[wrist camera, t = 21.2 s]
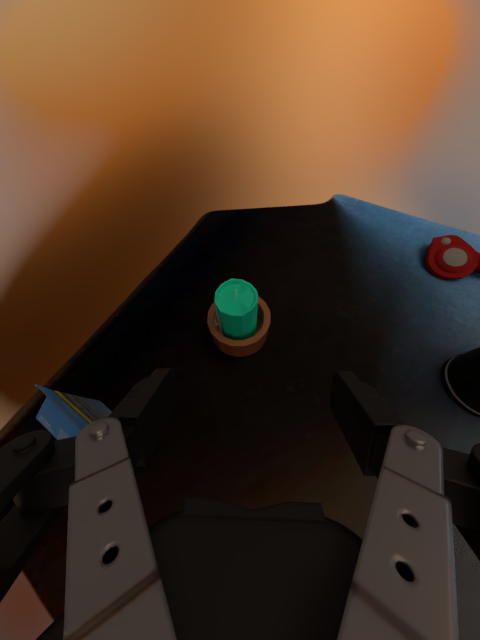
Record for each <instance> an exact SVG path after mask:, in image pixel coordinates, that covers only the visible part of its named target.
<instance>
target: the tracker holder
mask: <svg viewBox="0 0 480 640" xmlns="http://www.w3.org/2000/svg"><path fill="white" fill-rule="evenodd" d="M425 264H426V267H427V269H428V270H429V271H430V272H431V273H432V274H434V275H435V276H437V277H439V278H442V279H450V280H452V279H459V278H462V277H465V276H467V275H469V274H470V273H472V272H473V271H477V272H480V253H478V252H476V251H475V250H474V249H473V248H472V247H471V246H470V245H469V244H468V243H467V242H465V241H464V240H463V239H461V238H460V237H458V236H455V235H448V236H442V237H436V238H433V241H432V243H431V245H430V247H429V248H428V251H427V254H426V258H425Z"/></svg>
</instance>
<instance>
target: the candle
mask: <svg viewBox="0 0 480 640" xmlns="http://www.w3.org/2000/svg"><path fill="white" fill-rule="evenodd" d="M215 305H216V309H217V313H218V317H219V321H220V325H221V329H222V333H223V335H224V337H226V338H229V339H231V340H245V339H248V338H250V337H253V336H254V335H255V334H256V325H257V309H258V292H257V290H256V289H255V288H254V287H253V285H252V284H250V283H248V282H246V281H244V280H242V279H229V280H228V281H226V282H224V283H222V284H221V285H220V286H219V288H218V289H217V290H216V291H215Z"/></svg>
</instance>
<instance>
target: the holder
mask: <svg viewBox="0 0 480 640" xmlns="http://www.w3.org/2000/svg"><path fill="white" fill-rule="evenodd" d="M207 323H208V326H209V329H210V332H211V334H212V337H213V340H214V343H215V344H216V345H217V347H218V348H219V349H220V350H221V351H223V352H224V353H226V354H228V355H231V356H235V357H244V356H248V355H251V354H253V353H255V352H257V351H258V350H259V349H260V348H261V347H262V346H263V345H264V343H265V342H266V339H267V336H268V334H269V328H270V323H271V320H270V310H269V308H268V307H267V305H266V303H265V301H263V300H262V299H261V298H260V297H259V296H258V309H257V325H256V334H255V335H254V336H253V337H250V338H248V339H245V340H231V339H229V338H226V337H224V335H223V333H222V329H221V325H220V321H219V317H218V313H217V309H216V305H215V301H214V302H213V304H212V306H211V308H210V309H209V311H208V319H207Z"/></svg>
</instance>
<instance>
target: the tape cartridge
mask: <svg viewBox="0 0 480 640" xmlns="http://www.w3.org/2000/svg"><path fill="white" fill-rule="evenodd" d="M35 386H37V387H38V388H39V389H40V390H41V391H42V392H43V393H44V394H45V395H46V396H47V397H46V399H45V401H44V403H43V405H42V407H41V409H40V411H39V413H38V415H37V417H36V419H37V420H38V421H39V422H40V423H41V424H42V425H43V426H44V427H45V428H46V429H47V430H48V431H49V432H50V433H51V434H52V435H53V436H54V437H55V438H56V439H57V440H60V439H65V438H69V437H74V436H77V434H78V433H79V431H80V430H81V429H82V428H84V427H85V426H86V425H88V424H89V423H91V422H93V421H96V420H98V419H101V418H107V417H108V416H109V415H110V414H111V413H112V411H111V410H110V409H108V408H107V407H106V406H105V405H104V404H103V403H101V402H100V401H98V400H93V399H88V398H84V397H80V396H76V395H71V394H67V393H63V392H58V391H54V390H51V389H48V388H45V387H43V386H40V385H37V384H35Z"/></svg>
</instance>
